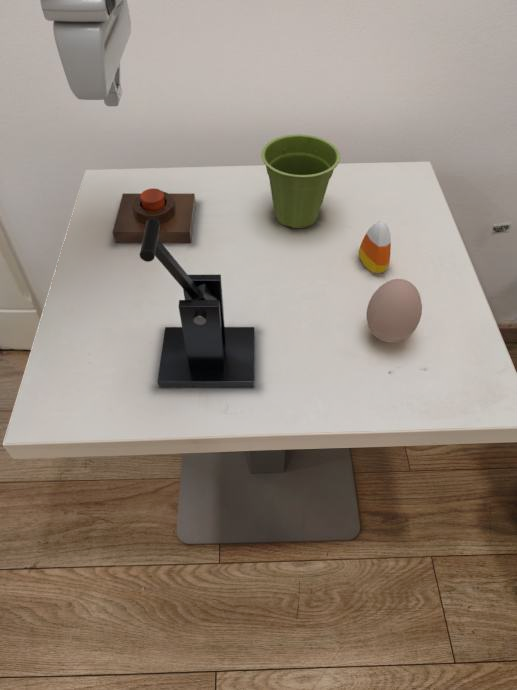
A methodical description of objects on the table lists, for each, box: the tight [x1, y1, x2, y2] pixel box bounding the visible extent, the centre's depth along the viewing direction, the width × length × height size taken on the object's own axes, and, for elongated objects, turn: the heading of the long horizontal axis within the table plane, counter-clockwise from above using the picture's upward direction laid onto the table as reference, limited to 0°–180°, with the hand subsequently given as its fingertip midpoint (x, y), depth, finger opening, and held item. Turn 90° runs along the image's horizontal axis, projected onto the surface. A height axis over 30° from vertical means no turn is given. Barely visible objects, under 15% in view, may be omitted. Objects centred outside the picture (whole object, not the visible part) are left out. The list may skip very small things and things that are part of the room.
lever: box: [139, 218, 217, 300], centre depth 56 cm, size 12×5×2 cm
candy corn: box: [358, 220, 392, 274], centre depth 76 cm, size 6×3×8 cm, turn 25°
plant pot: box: [261, 133, 341, 229], centre depth 82 cm, size 12×12×11 cm
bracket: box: [157, 274, 255, 388], centre depth 63 cm, size 12×9×13 cm
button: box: [140, 188, 165, 211], centre depth 81 cm, size 4×4×2 cm
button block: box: [112, 190, 197, 244], centre depth 83 cm, size 12×10×4 cm
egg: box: [366, 278, 423, 343], centre depth 66 cm, size 7×7×10 cm
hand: (114, 101), depth 67 cm, fingers closed
